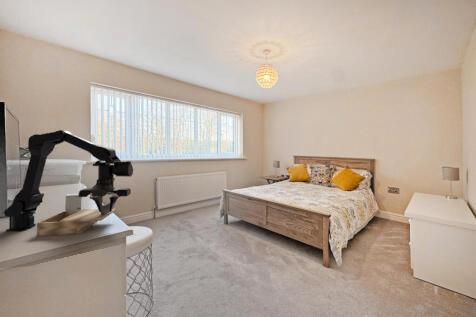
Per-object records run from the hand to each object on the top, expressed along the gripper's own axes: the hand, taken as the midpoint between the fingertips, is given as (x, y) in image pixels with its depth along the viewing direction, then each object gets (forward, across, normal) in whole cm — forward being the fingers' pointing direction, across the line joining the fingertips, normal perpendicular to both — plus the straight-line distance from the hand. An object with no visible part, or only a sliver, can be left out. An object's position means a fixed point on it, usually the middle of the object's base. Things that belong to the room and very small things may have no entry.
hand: (105, 212), depth 90 cm
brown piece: (+6, -14, 0) cm, 15 cm away
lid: (+1, -6, 0) cm, 6 cm away
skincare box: (+7, -18, +12) cm, 23 cm away
